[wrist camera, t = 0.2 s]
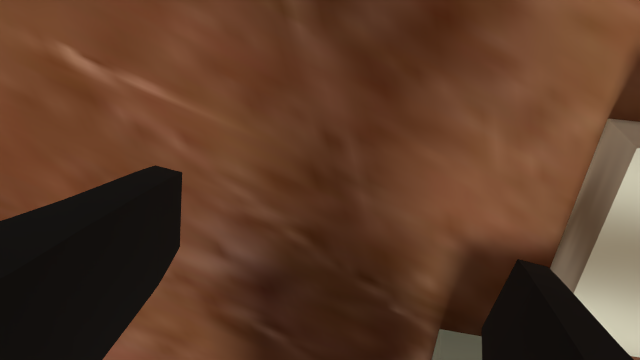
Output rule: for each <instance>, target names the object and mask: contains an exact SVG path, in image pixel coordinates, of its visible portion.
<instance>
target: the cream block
mask: <svg viewBox="0 0 640 360" xmlns="http://www.w3.org/2000/svg"><path fill="white" fill-rule="evenodd" d="M550 269H551V270H552V271H553V272H554V273H555V274H556V275H557V276H558V277H559V278H560V279H561V281H562V282H563V283H564V284H565V285H566V286H567V287H568V288H569V289H570V290H571V291H572V292H573V294H574V295H575V296H576V297H577V298H578V299H579V300H580V301H581V302H582V304H583V305H584V306H585V307H586V308H587V309H588V310H589V311H590V313H591V314H592V315H593V316H594V317H595V318H596V319H597V320H598V321H599V323H600V324H601V325H602V326H603V327H604V328H605V329H606V330H607V331H608V333H609V334H610V335H611V336H612V337H613V338H614V339H615V340H616V341H617V342H618V343H619V345H620V346H621V347H622V348H623V349H624V350H625V351H626V352H627V353H628V354H629V355H630V356H635V357H640V122H636V121H627V120H617V119H608V120H607V122H606V125H605V127H604V130H603V133H602V135H601V138H600V140H599V143H598V145H597V148H596V151H595V153H594V156H593V158H592V161H591V164H590V166H589V169H588V171H587V174H586V176H585V179H584V182H583V184H582V187H581V189H580V192H579V195H578V197H577V200H576V202H575V205H574V208H573V210H572V213H571V215H570V218H569V220H568V223H567V226H566V228H565V231H564V233H563V236H562V239H561V241H560V244H559V246H558V249H557V252H556V254H555V257H554V259H553V262H552V264H551V267H550Z"/></svg>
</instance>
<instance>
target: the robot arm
mask: <svg viewBox="0 0 640 360" xmlns="http://www.w3.org/2000/svg"><path fill="white" fill-rule="evenodd" d="M181 191H182V172H178V171H174V170H171V169H167V168H163V167H159V166H152V167H149V168H146V169H143V170H140V171H137V172H135V173H132V174H129V175H127V176H124V177H121V178H119V179H116V180H114V181H111V182H109V183H106V184H103V185H101V186H98V187H96V188H93V189H90V190H88V191H85V192H83V193H80V194H77V195H75V196H72V197H69V198H67V199H64V200H61V201H58V202H56V203H53V204H50V205H47V206H44V207H41V208H38V209H35V210H32V211H29V212H26V213H23V214H20V215H17V216H15V217H12V218H9V219H6V220H2V221H0V360H102V359H103V358H104V357H105V355H106V354H107V353H108V351H109V350H110V349H111V347H112V346H113V345H114V344H115V342H116V341H117V340H118V338H119V337H120V336H121V334H122V333H123V332H124V330H125V329H126V328H127V326H128V325H129V324H130V322H131V321H132V320H133V318H134V317H135V316H136V314H137V313H138V312H139V310H140V309H141V308H142V306H143V305H144V304H145V302H146V301H147V300H148V298H149V297H150V296H151V294H152V293H153V292H154V290H155V289H156V287H157V286H158V285H159V283H160V281H161V279H162V278H163V276H164V274H165V273H166V271H167V269H168V267H169V266H170V264H171V262H172V260H173V258H174V256H175V255H176V253H177V251H178V249H179V247H180V222H181ZM482 360H633V359H632V357H631V356H630V355H629V354H628V353H627V352H626V351H625V350H624V349H623V348H622V347H621V346H620V345H619V343H618V342H617V341H616V340H615V339H614V338H613V337H612V336H611V335H610V334H609V333H608V331H607V330H606V329H605V328H604V327H603V326H602V325H601V324H600V323H599V321H598V320H597V319H596V318H595V317H594V316H593V315H592V314H591V313H590V311H589V310H588V309H587V308H586V307H585V306H584V305H583V304H582V302H581V301H580V300H579V299H578V298H577V297H576V296H575V295H574V294H573V292H572V291H571V290H570V289H569V288H568V287H567V286H566V285H565V284H564V283H563V282H562V281H561V279H560V278H559V277H558V276H557V275H556V274H555V273H554V272H553V271H552V270H551V269H549V268H548V267H546V266H542V265H538V264H534V263H530V262H527V261H523V260H519V259H518V260H517V261H516V263H515V265H514V267H513V269H512V271H511V273H510V275H509V277H508V279H507V281H506V283H505V285H504V286H503V288H502V290H501V292H500V294H499V296H498V298H497V300H496V302H495V304H494V306H493V308H492V310H491V311H490V313H489V315H488V317H487V319H486V321H485V323H484V325H483V327H482Z"/></svg>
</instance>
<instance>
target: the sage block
mask: <svg viewBox="0 0 640 360" xmlns="http://www.w3.org/2000/svg"><path fill="white" fill-rule="evenodd" d="M432 360H482V336H476V335H470V334H465V333H459V332H453V331H448V330H442V329H439V333H438V337H437V341H436V345H435V349H434V353H433V357H432Z"/></svg>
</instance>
